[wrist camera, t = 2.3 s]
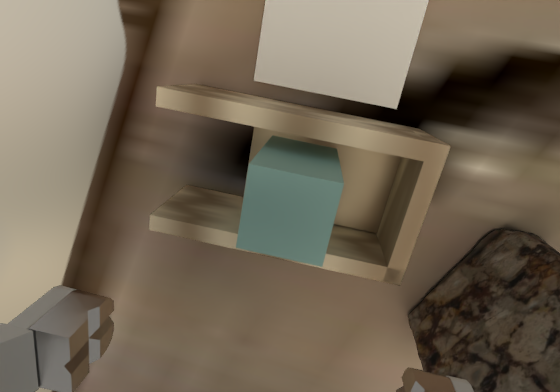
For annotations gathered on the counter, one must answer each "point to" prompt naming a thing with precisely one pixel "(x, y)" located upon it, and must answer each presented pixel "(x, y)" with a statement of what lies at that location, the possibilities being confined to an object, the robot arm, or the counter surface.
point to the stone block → (496, 317)
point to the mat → (340, 47)
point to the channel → (355, 170)
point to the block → (291, 200)
